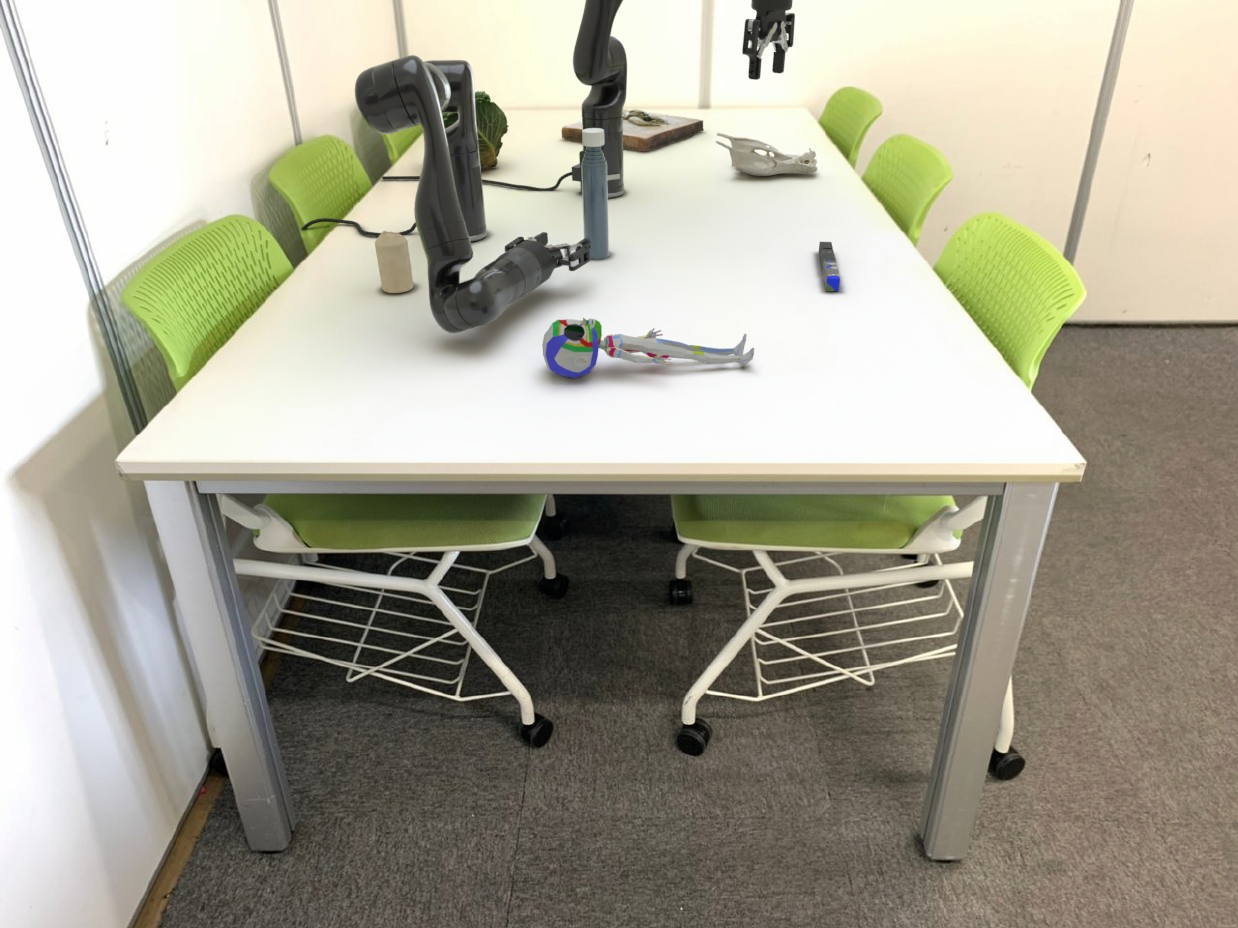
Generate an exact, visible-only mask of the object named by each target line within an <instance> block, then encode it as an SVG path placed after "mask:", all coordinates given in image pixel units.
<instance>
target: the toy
mask: <svg viewBox="0 0 1238 928" xmlns="http://www.w3.org/2000/svg"><path fill="white" fill-rule="evenodd" d="M602 327H603V326H602V324H601V321H599V320H597V319H596V318H595V319H594V318H588V319H586V318H585V317H583V318H582V320H580V319H570V318H569V319H556V320H555V321H554V322H552V323H551V325H549V328H548V329H547V331H546V332H545V333H544V335H543V338H542V343H541V348H542V357H543V359H544V362H545V365H546V368H547V369H548V370H550V371H551V372H553V373H554V374H556V375H559V376H562V377H566V378H573V379H574V378H575V379H577V378H580V377H582V376H585V375H586V374H590V373H591V371H592V370H593V369H594V367H596V365H597V362H598V357H599V349H600V350H603V351H604V352H605V353H606V356H608V357H610V358H612V359H621V360H624V361H630V362H632V363H636V364H659V365H664V366H667V367H670V366H671V365H674V362H672V359H683V360H691V361H697V362H701V363H705V364H706V365H707V364H708V365H723V364H730V363H738V364H739V365H742V366H746V365H748V364H749V362H751V361H752V360H753V359H754V356H755V347H752V348H750V350H749V351H747V352H746V353H744V350H745V345H746V342H747V333H746V332H745V333H744V334H743V335H742V336H743V337H742V339H741V340H740V342H739V343H737V345H735V346H734V347H732V348H718V347H709V346H703V345H695V344H687V343H684V342H680V341H675V340H670V339H663V338H657V337H662V336H664V334H663V333H660V332H662V330H661V329H659V330H657V331H655V327H653V328H652V329H650V330H649V331H648V333H646V334H645V335H640V336H632V335H625V334H622V333H618V334H607V335H606V336H605V337H604V338H603V340H602V336H603V335H602V333H603V331H602V329H603V328H602ZM636 353H637V354H636ZM638 353H642V354H644V355H641V354H638ZM646 355H647V356H646ZM667 360H668V361H667Z"/></svg>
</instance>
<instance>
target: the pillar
mask: <svg viewBox="0 0 1238 928" xmlns="http://www.w3.org/2000/svg"><path fill="white" fill-rule="evenodd" d="M818 246H819V247H818V257H819V263H820V267H821V273H822V277H823V284H824V288H825V291H826V292H839V290H840V282H841V278H840V273H839V269H838V264H837V259H836V256H835V252H834V247H833V242H832V241H819V245H818Z"/></svg>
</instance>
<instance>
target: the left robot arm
mask: <svg viewBox="0 0 1238 928" xmlns="http://www.w3.org/2000/svg"><path fill="white" fill-rule="evenodd" d="M475 89H476V87H475V77H474V72H473V68H472V66H471V64H470V63H469V61H467V60H464V59H442V60H441V59H440V60H439V59H435V60H425V61H423V59H421V58H420V57H419V56H418V55H414V54H410V55H406V56H402V57H400V58H396V59H394V60H390V61H386V62H385V63H381V64H377V65H375V66H372V67H369V68H367V69H364V70H363V71H361V73H359V74H358V76H357V78H356V79H355V84H354V99H355V100H354V101H355V103H356V107H357V110H358V112H359V114H360V116H361V117H362V120H363V121H364V122H365V123H366V124H367V125H368V126H369V127H370V128H371V129H372V130H373V131H375V132H376V133H379V134H381V135H391V134H396V133H399V132H402V131H405V130H408V129H412V128H414V127H417V126H421V130H422V135H423V136H422V137H423V160H422V165H421V166H422V167H421V170H420V175H419V176H420V179H418V185H417V187H416V188H417V189H416V192H415V193H416V194H415V198H414V207H413V209H414V210H413V211H414V223H413V224H412V225H411V227H410V228H409V229H406V230H403V231H399V232H398V233H399V234H401V235H403V236H406V235H409V234H411V233H413V232H414V231H415V230H417V233H418V236H419V239H420V242H421V245H422V249H423V251H424V255H425V258H426V263H427V282H428V283H427V284H428V299H429V300H428V301H429V307H430V308H429V309H430V311H431V314H432V317H433V319H434V321H435V323H437V325H438V326H439V327H440V329H442V330H443V331H445V332H447V333H449V334H458V333H463V332H465V331H468V330H469V331H470V330H473V329H476V328H479V327H483V326H486V325H488V324H490V323H492V322H495V320H497V319H498V318H500V317H501V316H502V314H503V313H504V312H505V311H506V310H507V308H508V307H509V306H510V305H511V304H512V303H514V302H515V301H517V300H518V299H520V298H523V297H525V296H526V295H528V294H530V293H531V292H533V291H534V290H535V289H537V288H539V286H541V285H542V284H544V283H545V282H547V281H548V280H549V279H550V278H551V276H552V274H553V272H554V271H555V269H557V268H560V267H563V266H567V267H568V271H570V272H574V271H577V270H578V269H580V268H581V267H583V266H585V265H586V264H588V263H589V262H591V259H590V250H591V241H590V240H589V238H584V237H583V238H582V239H581V240H580V241H578V242H576V243H575V244H574V243H573V244H569V243H566V242H565V243H559V244H554V245H553V244H548V243H549V238H548V237H549V236H548V234H549V233H548V232H546V231H542V232H541V233H539V234H537V235H535V236H529V237H527V239H525V237H524V236H518V237H516V238H515V239H513V240H512V241H510V242H509V243H507V244H505V245H504V252H503V253H502V254H500V255H499V256H498V257H497V258H496V259H494V260H493V261H492V262H490V263H488V264H487V265H485V266H483V267H482V268H480V270H478V271H477V272H476V274H475V275H474V277H472V278H470V279H467V280H464V281H461V277H460V276H461V270H462V268H463V267H465V266H466V265H467V264H469V262H471V261H472V259H473V257H474V251H473V246H472V242H476V241H480V240H483V239H485V238H486V237H487V236H488V227H487V221H486V210H485V209H486V208H485V200H484V199H485V198H484V189H483V183H482V179H483V178H482V166H480V156H479V146H478V136H477V124H476V111H475V92H476V90H475ZM442 113H458V115H459V118H458V120H457V121H456V122H455V123H454V124H453V125H451V126H450V127H448V128H445V127H444V122H443V117H442ZM318 223H336V224H346V225H351V226H355V227H356V228H357V230H358V232H359V233H360V234H362V235H365V236H371V237H377V238H378V237H379V236H380V234H381V233H382V232H375V231H367V230H364V229H362V227H361V224H359V222H356V221H353V220H348V219H340V218H332V217H331V218H330V217H329V218H328V217H322V218H315V219H312V220H310V221H308V222H307V223H306V224H304V225H303V226H302V228H301V231H305V230H307V229H308V228H309V227H310V226H312V225H315V224H318ZM562 250H563V253H562ZM572 251H573V252H572Z"/></svg>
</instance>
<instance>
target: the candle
mask: <svg viewBox="0 0 1238 928" xmlns="http://www.w3.org/2000/svg"><path fill="white" fill-rule="evenodd" d="M380 233H381V234H380V236H379V237H378V236H377V238H376V240H375V241H374V247H375V254H376V259H377V266H378V271H379V277H380V283H381V288H382V291H383V292H385V293H388V294H401V293H405V292H406V293H407V292H409V291H411V290H413V288H414V277H413V271H412V263H411V257H410V250H409V243H408V239H407V237H406V236H405V235H401V234H399V232H394V231H387V230H383V231H382V232H380Z"/></svg>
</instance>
